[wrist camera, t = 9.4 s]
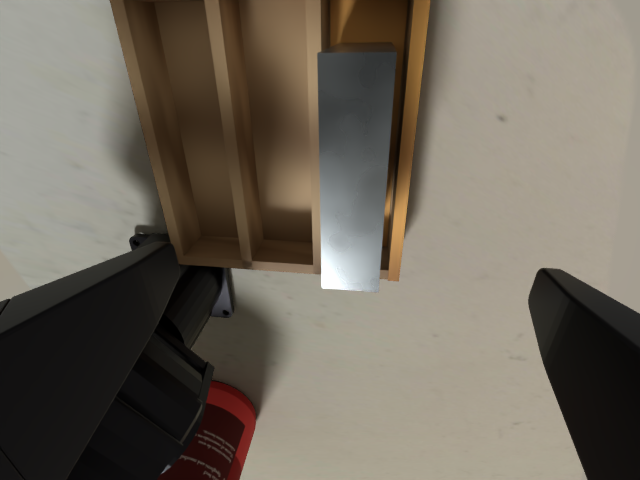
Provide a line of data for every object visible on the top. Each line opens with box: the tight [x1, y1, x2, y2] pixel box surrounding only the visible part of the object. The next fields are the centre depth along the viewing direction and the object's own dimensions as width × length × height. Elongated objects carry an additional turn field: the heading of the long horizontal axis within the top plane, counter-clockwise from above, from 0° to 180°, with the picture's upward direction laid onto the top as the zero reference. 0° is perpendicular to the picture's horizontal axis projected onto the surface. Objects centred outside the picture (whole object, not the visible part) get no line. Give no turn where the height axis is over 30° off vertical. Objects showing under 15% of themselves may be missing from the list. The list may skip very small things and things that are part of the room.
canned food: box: [157, 381, 256, 480], centre depth 30 cm, size 8×8×11 cm
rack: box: [110, 0, 430, 281], centre depth 19 cm, size 14×13×3 cm
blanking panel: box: [317, 42, 397, 292], centre depth 16 cm, size 9×2×7 cm, turn 1°
